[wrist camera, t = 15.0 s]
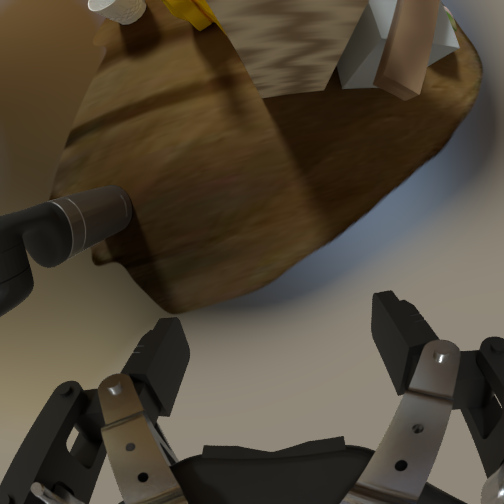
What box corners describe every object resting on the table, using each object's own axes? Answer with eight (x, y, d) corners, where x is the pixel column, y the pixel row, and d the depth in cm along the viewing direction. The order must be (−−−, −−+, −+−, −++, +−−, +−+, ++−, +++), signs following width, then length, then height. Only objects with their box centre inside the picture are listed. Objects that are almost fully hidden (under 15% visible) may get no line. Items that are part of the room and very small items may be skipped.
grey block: (342, 89, 38) (381, 38, 18) (317, 1, 33) (328, -77, 12) (392, 87, 37) (459, 48, 16) (366, 1, 31) (400, -68, 11)
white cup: (156, 3, 35) (133, -19, 26) (130, 32, 38) (102, 15, 29) (133, -7, 34) (109, -27, 25) (109, 20, 37) (81, 5, 28)
